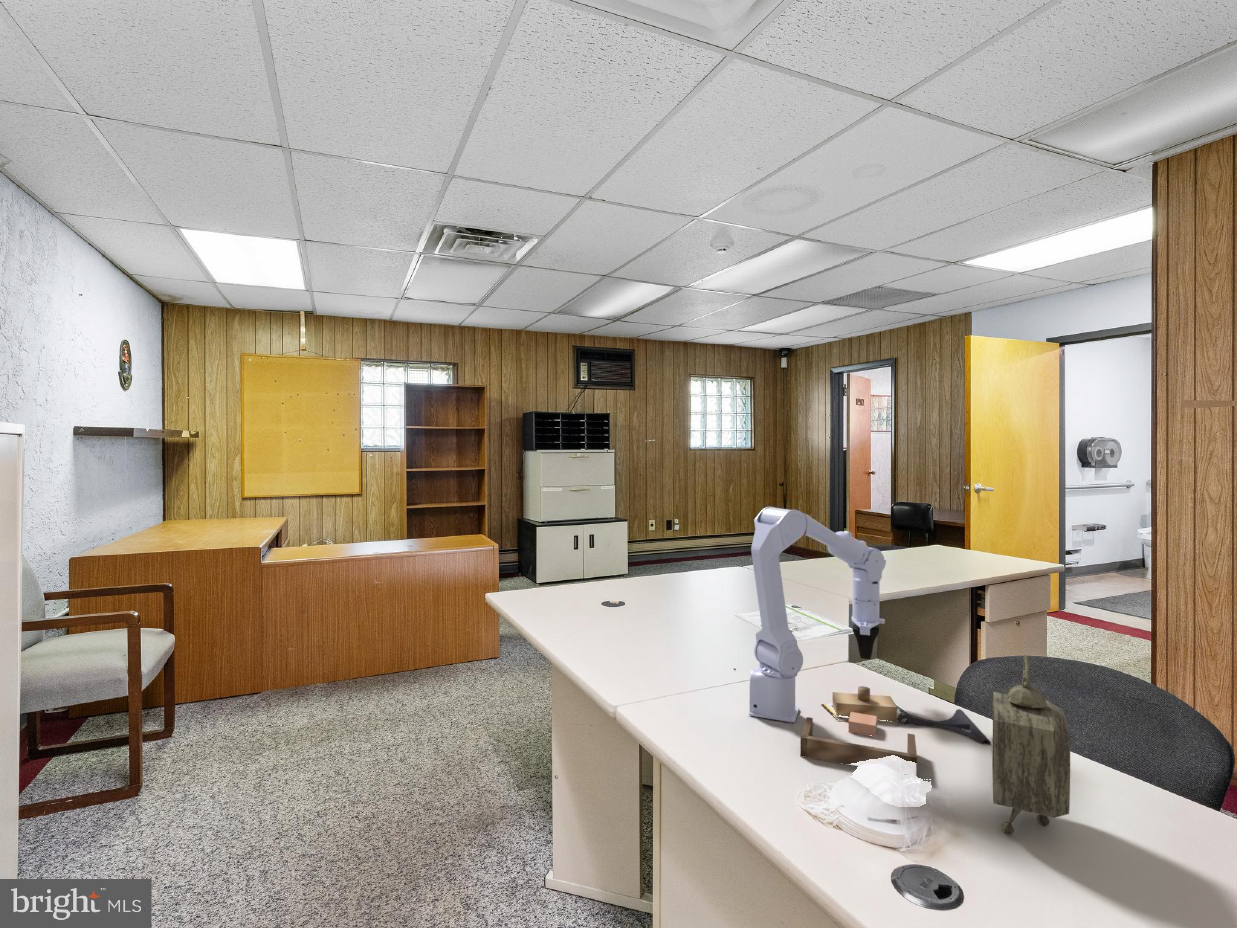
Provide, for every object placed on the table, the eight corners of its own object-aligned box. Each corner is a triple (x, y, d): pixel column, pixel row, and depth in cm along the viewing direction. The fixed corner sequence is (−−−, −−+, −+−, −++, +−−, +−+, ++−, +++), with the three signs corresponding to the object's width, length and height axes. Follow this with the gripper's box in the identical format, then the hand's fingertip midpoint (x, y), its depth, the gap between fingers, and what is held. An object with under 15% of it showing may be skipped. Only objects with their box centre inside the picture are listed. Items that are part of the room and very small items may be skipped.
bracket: (889, 711, 136) (889, 699, 136) (963, 716, 133) (963, 704, 133) (907, 742, 122) (908, 728, 122) (990, 748, 119) (990, 734, 119)
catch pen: (800, 756, 114) (800, 737, 114) (806, 734, 123) (806, 716, 123) (917, 777, 107) (917, 757, 107) (914, 753, 115) (914, 734, 115)
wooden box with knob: (836, 719, 131) (836, 691, 131) (832, 707, 137) (832, 681, 137) (897, 723, 129) (897, 695, 129) (890, 712, 135) (890, 685, 135)
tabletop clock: (992, 790, 103) (993, 640, 102) (1058, 806, 98) (1060, 649, 98) (993, 837, 90) (995, 666, 90) (1070, 858, 86) (1072, 678, 85)
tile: (848, 733, 124) (848, 721, 124) (850, 723, 129) (850, 711, 129) (875, 738, 122) (875, 725, 122) (876, 728, 127) (876, 716, 127)
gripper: (885, 607, 133) (884, 670, 134) (884, 593, 147) (884, 650, 147) (850, 604, 136) (849, 666, 136) (853, 591, 150) (852, 647, 150)
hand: (865, 658), depth 142 cm, fingers closed
